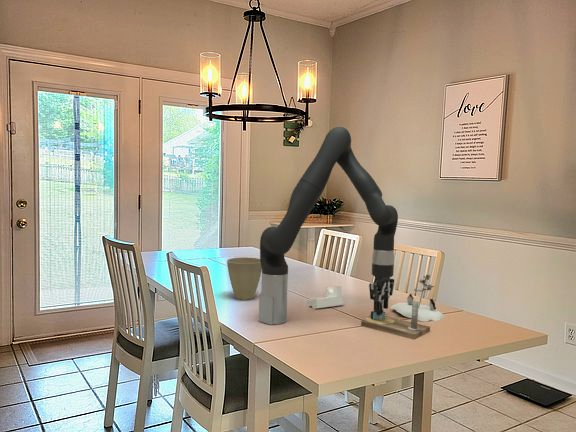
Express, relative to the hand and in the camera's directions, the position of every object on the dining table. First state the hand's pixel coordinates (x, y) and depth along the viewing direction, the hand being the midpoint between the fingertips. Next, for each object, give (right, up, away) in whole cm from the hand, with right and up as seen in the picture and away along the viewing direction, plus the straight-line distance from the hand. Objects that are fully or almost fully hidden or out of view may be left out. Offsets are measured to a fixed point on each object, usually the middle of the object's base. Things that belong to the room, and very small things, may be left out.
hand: (380, 309), depth 177 cm
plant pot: (-51, -1, +31) cm, 60 cm away
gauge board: (+4, -6, -4) cm, 8 cm away
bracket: (-18, -3, +24) cm, 30 cm away
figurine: (+17, -5, +15) cm, 23 cm away
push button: (0, -4, +1) cm, 4 cm away
